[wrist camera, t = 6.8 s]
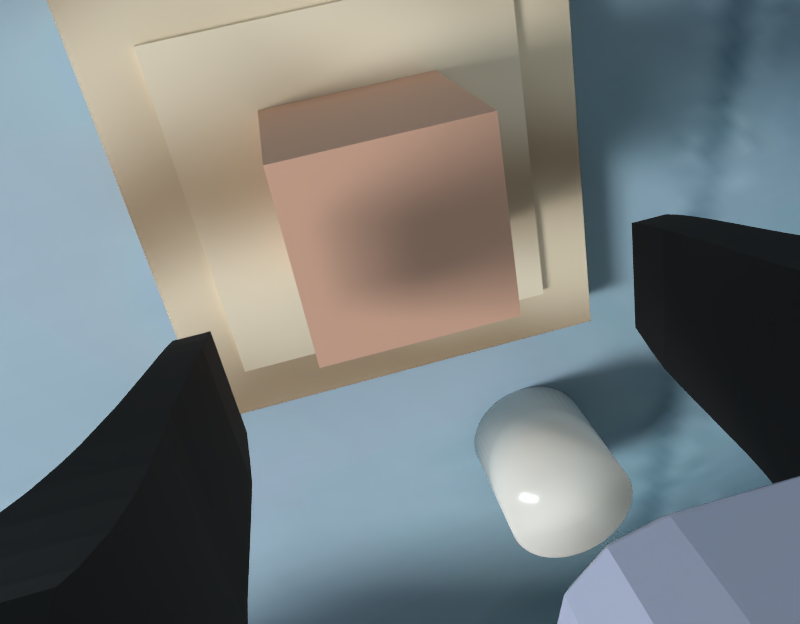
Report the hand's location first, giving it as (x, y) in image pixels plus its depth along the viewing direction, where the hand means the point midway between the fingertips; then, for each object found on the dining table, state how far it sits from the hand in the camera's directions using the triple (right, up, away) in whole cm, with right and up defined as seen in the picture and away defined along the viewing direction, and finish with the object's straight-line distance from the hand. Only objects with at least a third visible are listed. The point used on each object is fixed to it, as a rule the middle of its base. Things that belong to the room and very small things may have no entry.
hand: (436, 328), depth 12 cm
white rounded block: (+4, -4, +14) cm, 15 cm away
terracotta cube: (-1, +4, +7) cm, 8 cm away
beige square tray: (-2, +4, +8) cm, 10 cm away
